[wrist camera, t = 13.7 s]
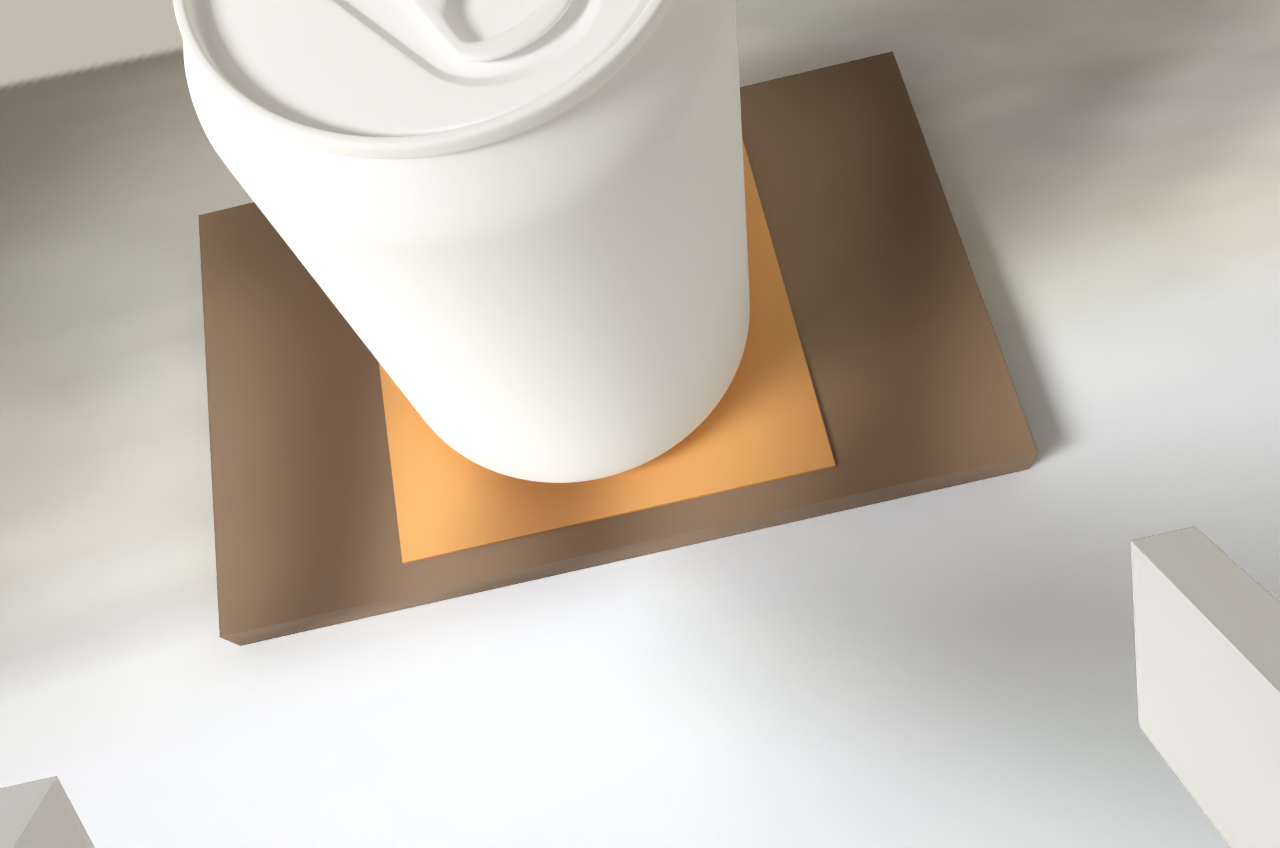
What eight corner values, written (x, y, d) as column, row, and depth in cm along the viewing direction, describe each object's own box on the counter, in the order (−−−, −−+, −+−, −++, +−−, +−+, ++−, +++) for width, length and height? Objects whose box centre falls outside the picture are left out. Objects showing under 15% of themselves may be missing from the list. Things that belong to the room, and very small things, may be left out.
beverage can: (598, 122, 28) (482, -367, 17) (825, 332, 25) (862, -89, 14) (339, 322, 27) (32, -66, 16) (548, 568, 24) (352, 305, 13)
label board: (240, 645, 25) (217, 636, 24) (216, 236, 29) (196, 213, 28) (1028, 468, 25) (1038, 451, 24) (888, 77, 29) (892, 48, 28)
